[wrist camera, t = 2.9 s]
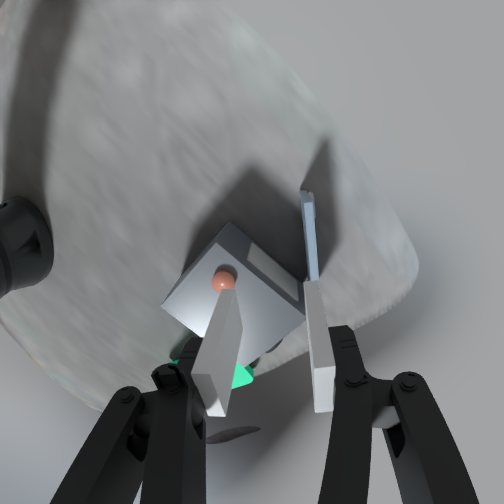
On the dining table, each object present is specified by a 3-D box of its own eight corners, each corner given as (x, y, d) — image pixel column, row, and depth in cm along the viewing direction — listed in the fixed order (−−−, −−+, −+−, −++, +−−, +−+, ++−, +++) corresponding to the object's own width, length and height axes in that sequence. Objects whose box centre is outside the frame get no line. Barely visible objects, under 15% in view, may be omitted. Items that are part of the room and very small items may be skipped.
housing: (257, 335, 40) (252, 377, 32) (180, 275, 37) (158, 309, 30) (311, 289, 36) (318, 327, 29) (230, 218, 34) (216, 243, 26)
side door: (306, 288, 36) (311, 318, 30) (297, 188, 32) (301, 201, 25) (317, 287, 36) (324, 316, 30) (309, 187, 31) (316, 199, 25)
